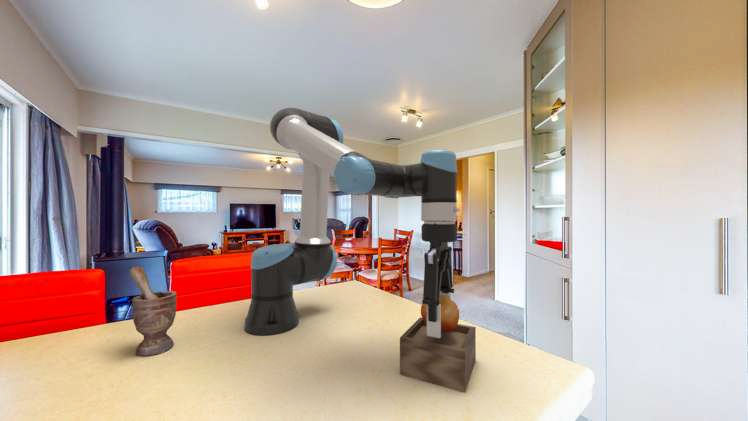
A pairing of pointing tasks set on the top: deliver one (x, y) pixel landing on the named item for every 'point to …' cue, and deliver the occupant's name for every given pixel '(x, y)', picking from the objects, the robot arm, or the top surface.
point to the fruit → (445, 314)
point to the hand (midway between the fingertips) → (439, 328)
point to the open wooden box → (439, 355)
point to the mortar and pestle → (152, 315)
